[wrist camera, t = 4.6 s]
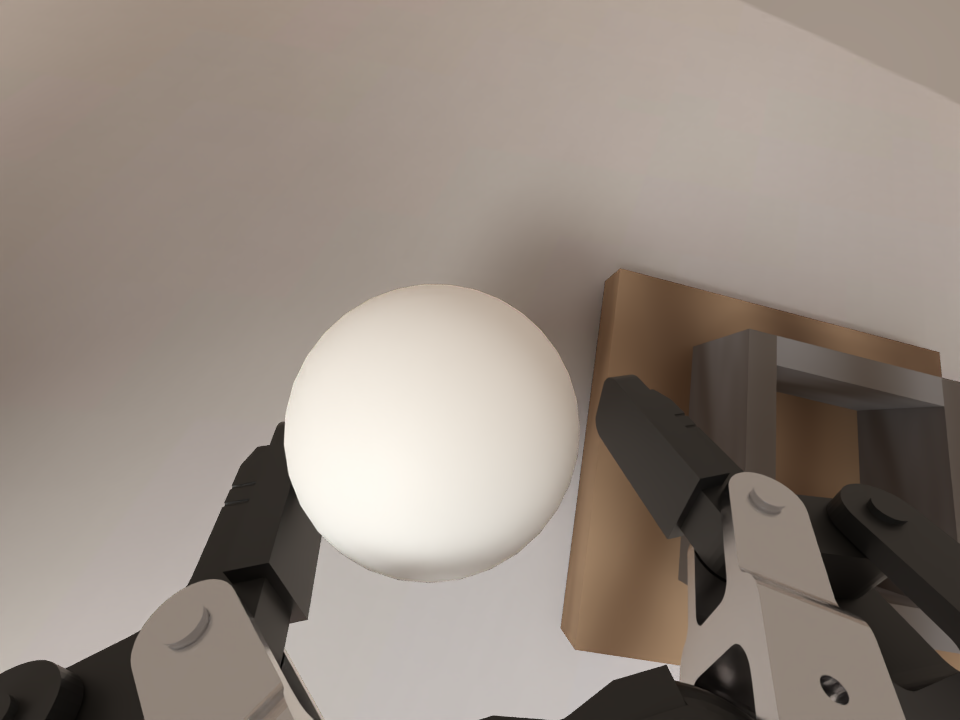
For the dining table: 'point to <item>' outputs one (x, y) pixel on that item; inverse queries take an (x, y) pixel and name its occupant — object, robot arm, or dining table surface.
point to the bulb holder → (749, 444)
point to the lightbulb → (431, 433)
